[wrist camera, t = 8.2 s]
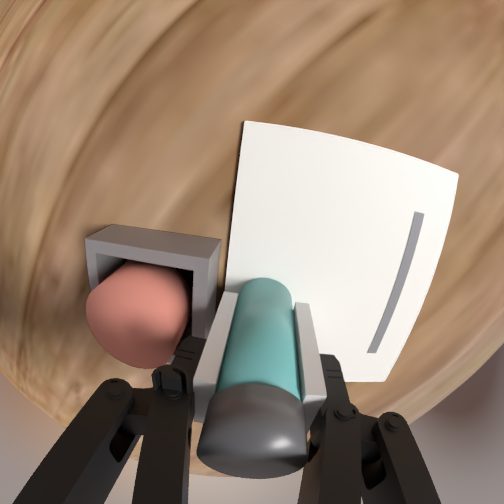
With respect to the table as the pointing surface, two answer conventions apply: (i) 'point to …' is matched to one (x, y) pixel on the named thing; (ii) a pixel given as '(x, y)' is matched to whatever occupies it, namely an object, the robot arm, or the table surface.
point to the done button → (140, 313)
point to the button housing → (162, 253)
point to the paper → (340, 236)
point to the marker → (257, 391)
